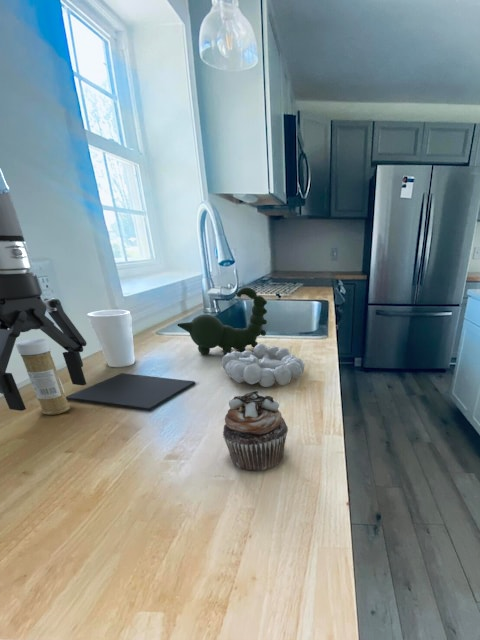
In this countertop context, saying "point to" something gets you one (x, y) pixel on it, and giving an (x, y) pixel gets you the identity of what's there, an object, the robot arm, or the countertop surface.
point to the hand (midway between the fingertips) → (51, 395)
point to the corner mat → (132, 391)
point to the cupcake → (255, 432)
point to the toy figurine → (228, 328)
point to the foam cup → (114, 335)
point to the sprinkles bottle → (43, 375)
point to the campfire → (263, 365)
